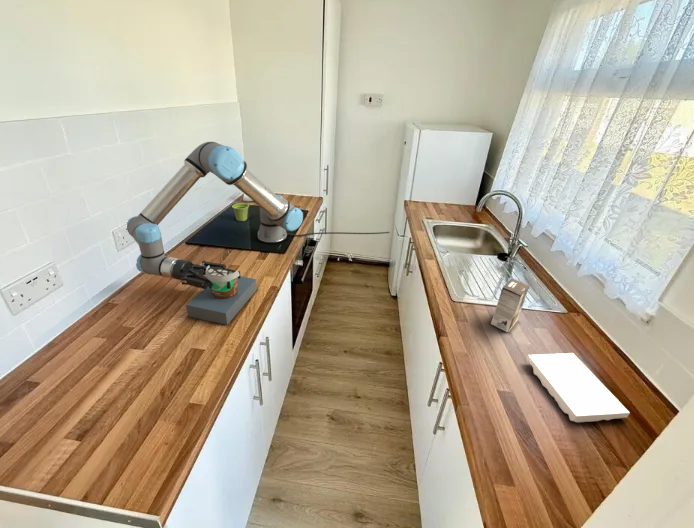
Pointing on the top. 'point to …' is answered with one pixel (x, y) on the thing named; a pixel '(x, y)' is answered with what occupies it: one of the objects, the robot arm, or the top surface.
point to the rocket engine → (246, 198)
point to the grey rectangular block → (221, 303)
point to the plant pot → (241, 211)
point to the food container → (222, 282)
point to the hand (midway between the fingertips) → (234, 279)
